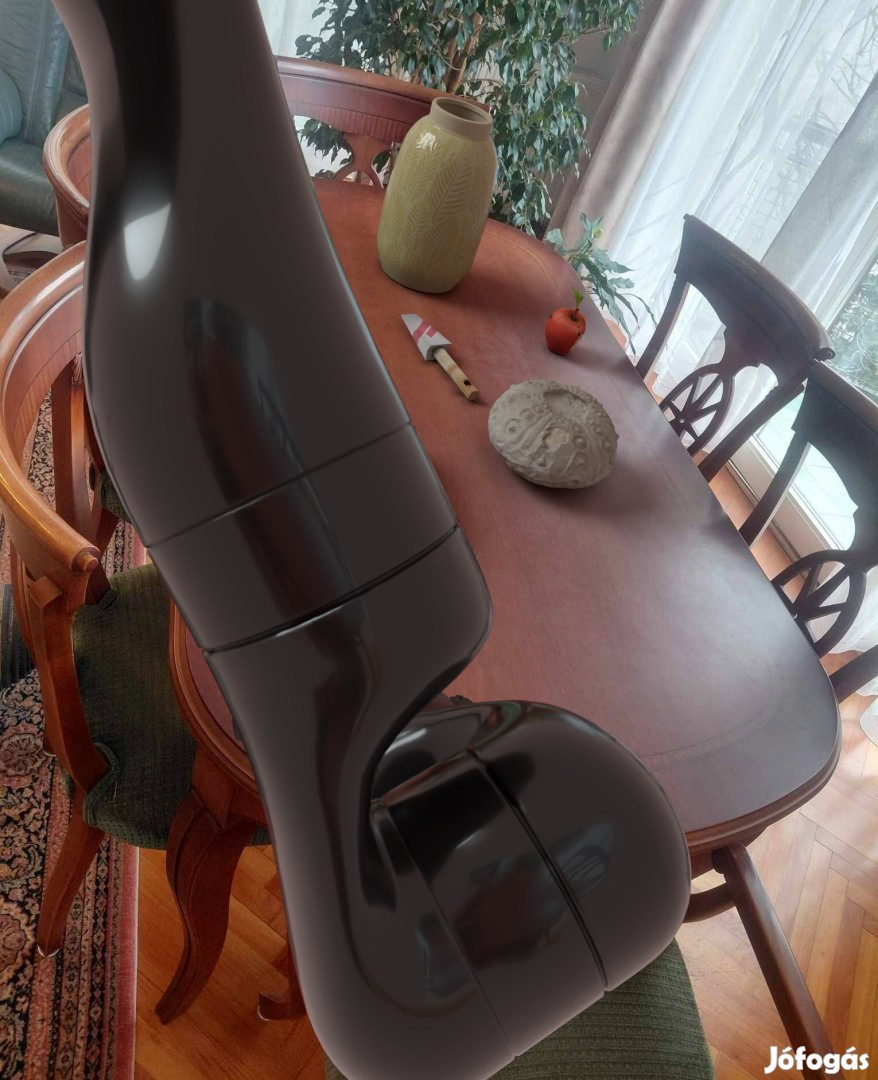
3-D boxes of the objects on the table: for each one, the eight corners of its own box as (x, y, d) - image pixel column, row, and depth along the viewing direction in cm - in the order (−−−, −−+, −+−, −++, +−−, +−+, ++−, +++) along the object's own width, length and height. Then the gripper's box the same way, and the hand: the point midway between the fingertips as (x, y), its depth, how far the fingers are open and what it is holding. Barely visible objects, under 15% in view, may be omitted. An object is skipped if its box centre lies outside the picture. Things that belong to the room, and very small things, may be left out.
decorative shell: (610, 518, 102) (645, 460, 95) (481, 491, 99) (507, 429, 92) (589, 435, 115) (618, 379, 108) (474, 409, 111) (497, 349, 105)
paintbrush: (421, 305, 122) (487, 387, 112) (416, 320, 124) (480, 402, 114) (400, 306, 120) (465, 389, 110) (395, 321, 122) (459, 404, 112)
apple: (583, 361, 130) (608, 308, 124) (551, 363, 127) (574, 308, 120) (558, 335, 135) (581, 282, 128) (527, 336, 131) (549, 282, 125)
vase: (349, 256, 133) (385, 86, 115) (416, 242, 145) (458, 86, 127) (420, 308, 128) (469, 137, 110) (484, 289, 139) (538, 132, 121)
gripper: (535, 683, 39) (452, 650, 54) (239, 657, 35) (243, 630, 51) (519, 837, 38) (440, 759, 54) (218, 825, 35) (228, 745, 51)
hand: (344, 696), depth 52 cm, fingers open, 8 cm apart
